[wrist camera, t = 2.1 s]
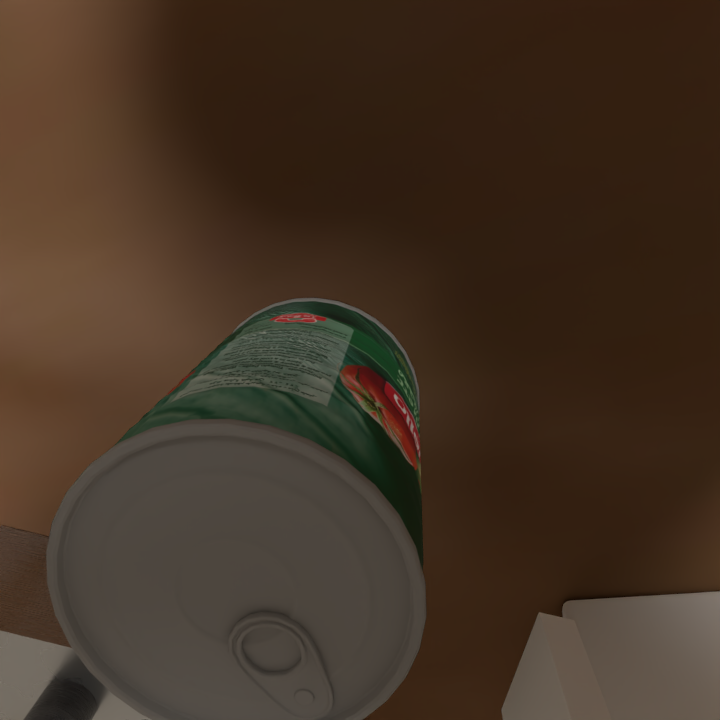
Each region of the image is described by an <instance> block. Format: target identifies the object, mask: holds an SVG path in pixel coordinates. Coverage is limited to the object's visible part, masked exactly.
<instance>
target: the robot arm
mask: <svg viewBox="0 0 720 720" xmlns="http://www.w3.org/2000/svg"><path fill="white" fill-rule="evenodd" d="M501 711H502V717H503V720H612V719H611V716H610V713H609V711H608V708H607V705H606V703H605V700H604V698H603V695H602V692H601V690H600V687H599V684H598V682H597V679H596V676H595V674H594V671H593V668H592V666H591V663H590V661H589V658H588V655H587V653H586V650H585V647H584V645H583V642H582V639H581V637H580V634H579V631H578V629H577V626H576V624H575V621H574V620H571V619H566V618H562V617H558V616H554V615H549V614H545V613H541V612H539V613H538V616H537V618H536V621H535V623H534V626H533V629H532V631H531V634H530V636H529V639H528V642H527V644H526V647H525V649H524V652H523V655H522V657H521V660H520V662H519V665H518V668H517V670H516V673H515V675H514V678H513V681H512V683H511V686H510V688H509V691H508V693H507V696H506V699H505V701H504V704H503V706H502V709H501Z"/></svg>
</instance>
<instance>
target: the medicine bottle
mask: <svg viewBox="0 0 720 720" xmlns="http://www.w3.org/2000/svg"><path fill="white" fill-rule="evenodd" d="M562 615H563V618H566V619H571V620H574V621H575V624H576V626H577V629H578V631H579V634H580V637H581V639H582V642H583V645H584V647H585V650H586V653H587V655H588V658H589V661H590V663H591V666H592V668H593V671H594V674H595V676H596V679H597V682H598V684H599V687H600V690H601V692H602V695H603V698H604V700H605V703H606V705H607V708H608V711H609V713H610V716H611V719H612V720H720V591H717V592H701V593H684V594H668V595H651V596H635V597H619V598H602V599H586V600H570V601H567V602H565V603H564V604H563V607H562Z"/></svg>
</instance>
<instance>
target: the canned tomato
mask: <svg viewBox="0 0 720 720" xmlns="http://www.w3.org/2000/svg"><path fill="white" fill-rule="evenodd" d="M419 411H420V400H419V387H418V383H417V379H416V374H415V370H414V368H413V366H412V364H411V362H410V360H409V357H408V355H407V353H406V351H405V350H404V348H403V347H402V346H401V344H400V343H399V342H398V340H397V339H396V338H395V336H394V335H393V334H392V333H391V332H390V331H389V330H388V329H387V328H386V327H385V326H383V325H382V324H381V323H380V322H379V321H378V320H377V319H375V318H373V317H372V316H370V315H368V314H367V313H365V312H363V311H362V310H360V309H358V308H356V307H353V306H350V305H347V304H345V303H342V302H339V301H335V300H328V299H322V298H295V299H291V300H286V301H282V302H278V303H274V304H272V305H270V306H268V307H266V308H264V309H262V310H259V311H257V312H255V313H254V314H253V315H251V316H250V317H249V318H247V319H246V320H245V321H243V322H242V323H241V324H239V325H238V327H237V328H236V329H235V330H234V331H233V332H232V334H231V335H230V336H229V337H227V338H226V339H225V340H224V341H223V342H222V343H221V344H220V345H218V346H217V348H216V349H215V350H214V351H212V352H211V353H210V354H209V355H208V356H207V358H205V359H204V360H203V361H201V363H200V364H199V365H198V366H197V367H196V368H194V369H193V370H192V371H191V372H190V373H189V374H188V376H186V377H185V378H184V379H182V380H181V381H180V383H179V384H178V385H177V386H176V387H174V388H173V389H172V390H171V391H170V392H169V393H168V394H167V395H166V396H165V397H164V398H163V399H161V400H160V401H159V402H158V403H157V404H156V405H155V407H154V408H153V409H152V410H150V411H149V412H148V413H146V414H145V415H144V416H143V417H142V419H141V420H140V421H139V422H138V423H137V424H136V425H134V426H133V427H132V428H130V429H129V430H128V431H127V433H126V434H125V435H124V436H123V437H122V438H121V439H120V440H119V441H118V442H117V443H116V444H115V445H114V446H113V447H112V448H111V449H110V450H108V451H107V452H106V453H104V454H103V455H102V456H100V457H99V458H98V459H96V460H95V461H94V462H92V463H91V464H90V465H89V466H88V467H87V468H86V469H85V470H84V472H83V473H82V474H81V475H80V477H79V478H78V479H77V480H76V481H75V483H74V484H73V485H72V486H71V487H70V489H69V490H68V491H67V493H66V494H65V496H64V498H63V500H62V503H61V505H60V507H59V509H58V511H57V513H56V515H55V517H54V519H53V521H52V526H51V530H50V535H49V540H48V545H47V550H46V565H47V585H48V589H49V593H50V597H51V600H52V604H53V608H54V612H55V615H56V617H57V620H58V622H59V624H60V626H61V628H62V630H63V632H64V634H65V636H66V638H67V640H68V642H69V644H70V646H71V647H72V648H73V650H74V651H75V653H76V654H77V655H78V657H79V658H80V659H81V661H82V662H83V664H84V665H85V666H86V668H87V669H88V670H89V671H90V672H91V673H92V674H93V675H94V676H95V677H96V678H97V679H98V680H99V681H100V682H101V683H102V684H103V685H104V686H105V687H106V688H107V689H108V690H109V691H110V692H111V693H112V694H113V695H115V696H116V697H117V698H119V699H120V700H122V701H123V702H124V703H126V704H127V705H129V706H130V707H131V708H133V709H134V710H136V711H137V712H138V713H140V714H142V715H144V716H146V717H148V718H149V719H151V720H363V719H364V718H366V717H367V716H368V715H369V714H371V713H372V712H373V711H374V710H376V709H377V708H378V707H380V706H381V705H382V704H383V703H385V702H386V701H387V700H388V699H389V697H390V696H391V695H392V694H393V693H394V691H395V690H396V689H397V688H398V686H399V685H400V684H401V683H402V682H403V680H404V679H405V678H406V676H407V674H408V672H409V670H410V668H411V666H412V664H413V662H414V660H415V658H416V656H417V654H418V651H419V649H420V644H421V640H422V635H423V630H424V626H425V621H426V584H425V579H424V575H423V533H422V498H421V464H420V428H419Z"/></svg>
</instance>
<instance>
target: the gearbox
mask: <svg viewBox="0 0 720 720" xmlns="http://www.w3.org/2000/svg"><path fill="white" fill-rule="evenodd" d="M48 540H49V537H47V536H43V535H38V534H34V533H30V532H26V531H22V530H18V529H14V528H10V527H5V526H0V720H151V719H149V718H148V717H146V716H144V715H142V714H140V713H138V712H137V711H136V710H134V709H133V708H131V707H130V706H129V705H127V704H126V703H124V702H123V701H122V700H120V699H119V698H117V697H116V696H115V695H113V694H112V693H111V692H110V691H109V690H108V689H107V688H106V687H105V686H104V685H103V684H102V683H101V682H100V681H99V680H98V679H97V678H96V677H95V676H94V675H93V674H92V673H91V672H90V671H89V670H88V669H87V668H86V666H85V665H84V664H83V662H82V661H81V659H80V658H79V657H78V655H77V654H76V653H75V651H74V650H73V648H72V647H71V646H70V644H69V642H68V640H67V638H66V636H65V634H64V632H63V630H62V628H61V626H60V624H59V622H58V620H57V617H56V615H55V612H54V608H53V604H52V600H51V597H50V593H49V589H48V585H47V565H46V550H47V545H48Z"/></svg>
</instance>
